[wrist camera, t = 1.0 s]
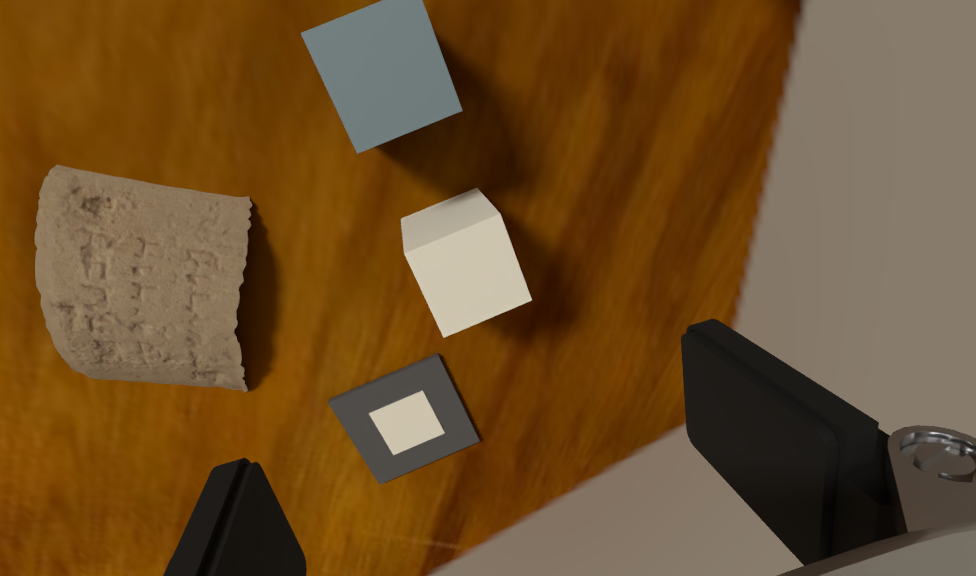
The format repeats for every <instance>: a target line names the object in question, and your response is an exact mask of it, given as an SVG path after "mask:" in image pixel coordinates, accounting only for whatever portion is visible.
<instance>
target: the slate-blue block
mask: <svg viewBox="0 0 976 576" xmlns="http://www.w3.org/2000/svg"><path fill="white" fill-rule="evenodd" d="M301 35H302V37H303V39H304V41H305V44H306V46H307V48H308V50H309V52H310V54H311V56H312V58H313V61H314V63H315V65H316V67H317V69H318V71H319V73H320V75H321V78H322V80H323V82H324V84H325V86H326V88H327V90H328V93H329V95H330V97H331V99H332V101H333V103H334V105H335V107H336V110H337V112H338V114H339V116H340V118H341V120H342V122H343V124H344V127H345V129H346V131H347V133H348V135H349V137H350V139H351V141H352V144H353V146H354V148H355V150H356V152H357V154H358V153H360V152H363V151H365V150H368V149H370V148H373V147H375V146H377V145H380V144H382V143H385V142H387V141H390V140H392V139H395V138H397V137H399V136H402V135H404V134H407V133H409V132H412V131H414V130H417V129H419V128H422V127H424V126H426V125H429V124H431V123H434V122H436V121H439V120H441V119H444V118H446V117H449V116H451V115H453V114H456V113H458V112H461V111H463V110H462V108H461V105H460V102H459V99H458V97H457V94H456V91H455V88H454V86H453V83H452V80H451V77H450V75H449V72H448V69H447V67H446V64H445V61H444V58H443V56H442V53H441V50H440V47H439V45H438V42H437V39H436V37H435V34H434V31H433V28H432V26H431V23H430V20H429V17H428V15H427V12H426V9H425V6H424V4H423V1H422V0H383V1H380V2H378V3H375V4H373V5H370V6H368V7H365V8H363V9H360V10H358V11H355V12H352V13H350V14H347V15H345V16H342V17H340V18H337V19H335V20H332V21H330V22H327V23H325V24H322V25H320V26H317V27H315V28H312V29H310V30H307V31H305V32H302V33H301Z"/></svg>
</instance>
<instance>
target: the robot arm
mask: <svg viewBox="0 0 976 576" xmlns="http://www.w3.org/2000/svg"><path fill="white" fill-rule="evenodd" d="M681 348H682V364H683V380H684V396H685V412H686V428H687V433H688V437H689V439H690V441H691V443H692V444H693V446H694V447H695V448H696V449H697V450H698V451H699V452H700V453H701V454H702V456H703V457H704V458H705V459H706V460H707V461H708V462H709V463H710V464H711V465H712V466H713V467H714V469H715V470H716V471H717V472H718V473H719V474H720V475H721V476H722V477H723V478H724V479H725V480H726V482H727V483H728V484H729V485H730V486H731V487H732V488H733V489H734V490H735V491H736V492H737V493H738V495H739V496H740V497H741V498H742V499H743V500H744V501H745V502H746V503H747V504H748V505H749V506H750V508H752V510H753V511H754V512H755V513H756V514H757V515H758V516H759V517H760V518H761V519H762V521H763V522H764V523H765V524H766V525H767V526H768V527H769V528H770V529H771V530H772V531H773V532H774V533H775V535H776V536H777V537H778V538H779V539H780V540H781V541H782V542H783V543H784V544H785V545H786V547H787V548H788V549H789V550H790V551H791V552H792V553H793V554H794V555H795V556H796V557H797V558H798V559H799V561H800V562H801V563H802V564H803V565H804V566H803V567H800V568H797V569H794V570H791V571H788V572H786V573H783V574H780V575H777V576H976V438H974V437H971V436H969V435H966V434H964V433H960V432H957V431H955V430H951V429H946V428H941V427H935V426H911V427H904V428H902V429H900V430H897V431H895V432H893V434H892V435H891V436H889V435H888V434H886V433H885V432H883V431H882V430H880V429H878V425H879V423H878V422H877V421H876V420H874V419H872V418H871V417H869V416H868V415H866V414H864V413H863V412H861V411H860V410H858V409H857V408H855V407H854V406H852V405H850V404H849V403H847V402H845V401H844V400H842V399H841V398H839V397H838V396H836V395H835V394H833V393H832V392H830V391H828V390H827V389H825V388H824V387H822V386H821V385H819V384H817V383H816V382H814V381H813V380H811V379H810V378H808V377H806V376H805V375H803V374H802V373H800V372H799V371H797V370H795V369H794V368H792V367H791V366H789V365H787V364H786V363H784V362H783V361H781V360H780V359H778V358H777V357H775V356H773V355H772V354H770V353H769V352H767V351H766V350H764V349H762V348H761V347H759V346H758V345H756V344H754V343H753V342H751V341H750V340H748V339H747V338H745V337H743V336H742V335H740V334H739V333H737V332H736V331H734V330H732V329H731V328H729V327H728V326H726V325H725V324H723V323H721V322H720V321H718V320H716V319H710V320H707V321H704V322H700V323H697V324H693V325H690V326H689V327H688V328H687V331H686V334H683V335H682V337H681ZM163 576H306V560H305V556H304V554H303V551H302V549H301V547H300V545H299V543H298V541H297V539H296V537H295V535H294V533H293V531H292V529H291V527H290V525H289V523H288V521H287V519H286V516H285V514H284V512H283V510H282V508H281V506H280V504H279V502H278V500H277V498H276V496H275V494H274V492H273V490H272V488H271V486H270V484H269V482H268V480H267V478H266V475H265V473H264V471H263V469H262V467H261V466H260V464H259V463H258V462H254V463H250V461H249V460H248V459H246V458H242V459H239V460H236V461H232V462H229V463H225V464H222V465H219V466H216V467H214V468H213V470H212V471H211V473H210V475H209V478H208V480H207V482H206V484H205V486H204V489H203V491H202V493H201V495H200V497H199V500H198V502H197V504H196V506H195V508H194V511H193V513H192V515H191V517H190V519H189V522H188V524H187V526H186V528H185V530H184V533H183V535H182V537H181V539H180V542H179V544H178V546H177V548H176V550H175V553H174V555H173V557H172V558H171V560H170V562H169V564H168V566H167V569H166V571H165V573H164V575H163Z"/></svg>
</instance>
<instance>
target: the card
mask: <svg viewBox="0 0 976 576" xmlns="http://www.w3.org/2000/svg"><path fill="white" fill-rule="evenodd" d="M328 403H329V405H330V406H331V408H332V409H333V411H334V413H335V414H336V416H337V417H338V419H339V421H340V422H341V424H342V425H343V427H344V429H345V430H346V432H347V433H348V435H349V437H350V438H351V440H352V441H353V443H354V444H355V446H356V448H357V449H358V451H359V452H360V454H361V456H362V457H363V459H364V460H365V462H366V464H367V465H368V467H369V468H370V470H371V471H372V473H373V475H374V476H375V478H376V479H377V481H378V483H379V484H382V483H384V482H387V481H389V480H391V479H394V478H396V477H398V476H401V475H403V474H405V473H408V472H410V471H412V470H415V469H417V468H419V467H421V466H424V465H426V464H428V463H431V462H433V461H435V460H438V459H440V458H442V457H445V456H447V455H449V454H452V453H454V452H456V451H459V450H461V449H463V448H466V447H468V446H470V445H473V444H475V443H477V442H480V440H479V437H478V435H477V433H476V431H475V429H474V427H473V425H472V423H471V420H470V418H469V416H468V414H467V412H466V410H465V408H464V406H463V404H462V402H461V400H460V398H459V396H458V394H457V391H456V389H455V387H454V385H453V383H452V381H451V379H450V377H449V375H448V373H447V371H446V369H445V367H444V365H443V363H442V360H441V358H440V356H439V354H438V353H437V354H435V355H432V356H430V357H428V358H425V359H423V360H421V361H418V362H416V363H414V364H411V365H409V366H407V367H404V368H402V369H399V370H397V371H395V372H392V373H390V374H388V375H385V376H383V377H381V378H378V379H376V380H373V381H371V382H369V383H366V384H364V385H362V386H359V387H357V388H355V389H352V390H350V391H347V392H345V393H343V394H340V395H338V396H336V397H333V398H331V399H329V402H328Z"/></svg>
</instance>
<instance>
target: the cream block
mask: <svg viewBox="0 0 976 576" xmlns="http://www.w3.org/2000/svg"><path fill="white" fill-rule="evenodd" d="M401 226H402V236H403V247H404V254H405V256H406V259H407V261H408V263H409V265H410V267H411V269H412V271H413V273H414V276H415V278H416V280H417V282H418V284H419V286H420V288H421V290H422V293H423V295H424V297H425V299H426V301H427V303H428V305H429V307H430V310H431V312H432V314H433V316H434V318H435V320H436V322H437V325H438V327H439V329H440V331H441V333H442V335H443V337H447V336H449V335H451V334H454V333H456V332H459V331H461V330H463V329H466V328H468V327H470V326H473V325H475V324H478V323H480V322H482V321H485V320H487V319H489V318H492V317H494V316H496V315H499V314H501V313H504V312H506V311H508V310H511V309H513V308H515V307H518V306H520V305H522V304H525V303H527V302H530V301H532V299H531V296H530V293H529V291H528V288H527V285H526V282H525V280H524V277H523V274H522V272H521V269H520V266H519V263H518V261H517V258H516V255H515V252H514V250H513V247H512V244H511V241H510V239H509V236H508V233H507V231H506V228H505V225H504V222H503V220H502V217H501V214H500V213H499V212H498V211H497V209H496V208H495V207H494V206H493V205H492V204H491V203H490V202H489V201H488V199H487V198H486V197H485V196H484V195H483V194H482V193H481V192H480V191H479V190H478V188H474V189H472V190H470V191H467V192H465V193H462V194H460V195H458V196H455V197H453V198H450V199H448V200H445V201H443V202H441V203H438V204H436V205H433V206H431V207H429V208H426V209H424V210H421V211H419V212H416V213H414V214H412V215H409V216H407V217H404V218H402V219H401Z"/></svg>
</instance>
